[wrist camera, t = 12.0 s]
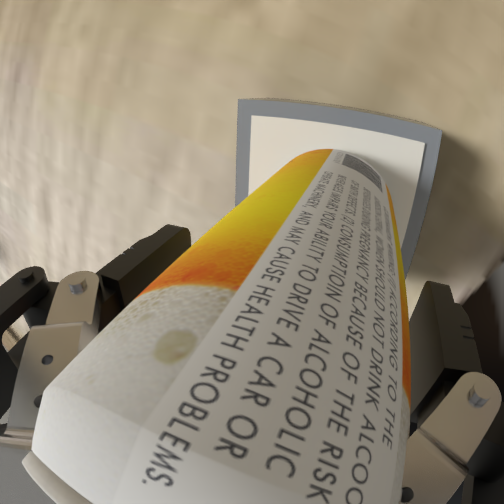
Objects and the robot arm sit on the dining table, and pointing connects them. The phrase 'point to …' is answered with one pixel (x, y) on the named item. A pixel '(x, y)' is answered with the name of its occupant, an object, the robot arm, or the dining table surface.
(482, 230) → the dining table surface
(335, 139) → the riser
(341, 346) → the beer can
